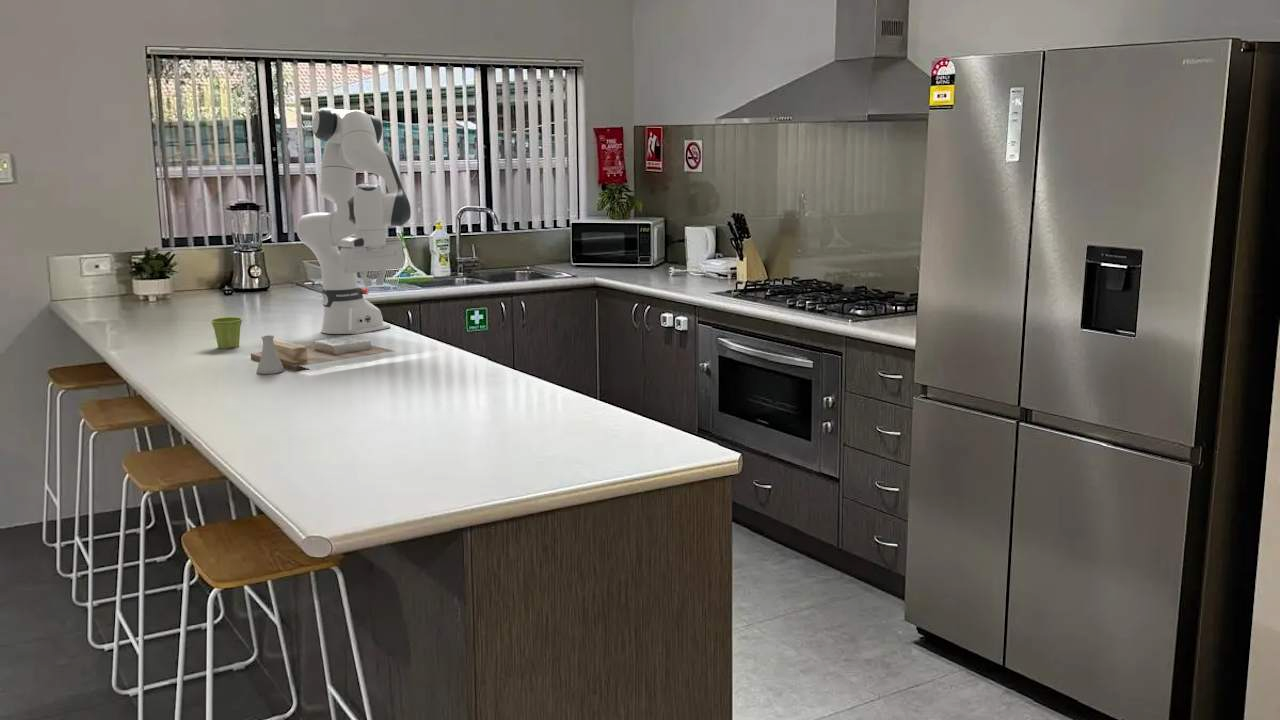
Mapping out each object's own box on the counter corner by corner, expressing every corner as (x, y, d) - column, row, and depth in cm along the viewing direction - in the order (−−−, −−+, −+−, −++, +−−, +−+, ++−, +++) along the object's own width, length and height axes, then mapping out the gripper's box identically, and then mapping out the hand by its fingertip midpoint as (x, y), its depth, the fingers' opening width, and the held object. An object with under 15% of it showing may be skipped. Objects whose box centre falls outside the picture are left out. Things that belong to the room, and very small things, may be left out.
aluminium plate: (351, 344, 348) (350, 335, 347) (371, 348, 339) (371, 340, 338) (314, 349, 340) (313, 341, 339) (334, 354, 331) (333, 345, 330)
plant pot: (250, 344, 359) (247, 316, 357) (236, 350, 350) (234, 321, 348) (221, 344, 360) (218, 317, 358) (207, 350, 351) (204, 321, 349)
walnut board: (347, 344, 356) (346, 339, 355) (395, 355, 335) (394, 350, 335) (250, 358, 335) (250, 353, 335) (296, 371, 315) (295, 366, 314)
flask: (276, 375, 311) (273, 338, 309) (251, 374, 312) (248, 338, 310) (289, 369, 318) (286, 334, 316) (265, 369, 319) (262, 333, 317)
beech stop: (277, 352, 335) (276, 339, 334) (307, 360, 322) (306, 346, 321) (264, 354, 332) (263, 341, 332) (294, 362, 319) (292, 348, 319)
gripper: (396, 236, 350) (398, 281, 353) (334, 241, 336) (338, 288, 339) (407, 237, 346) (409, 283, 348) (345, 242, 332) (348, 290, 335)
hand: (373, 285), depth 344 cm, fingers open, 3 cm apart
